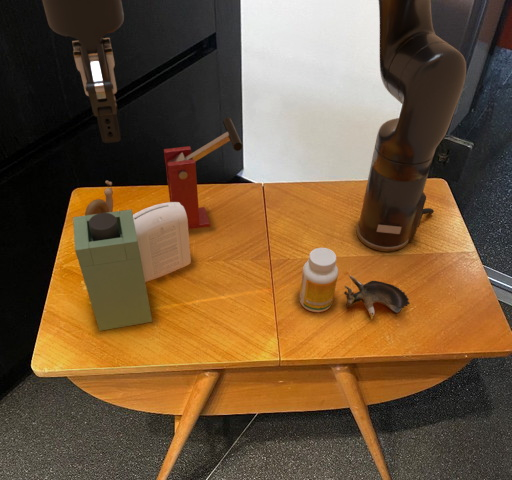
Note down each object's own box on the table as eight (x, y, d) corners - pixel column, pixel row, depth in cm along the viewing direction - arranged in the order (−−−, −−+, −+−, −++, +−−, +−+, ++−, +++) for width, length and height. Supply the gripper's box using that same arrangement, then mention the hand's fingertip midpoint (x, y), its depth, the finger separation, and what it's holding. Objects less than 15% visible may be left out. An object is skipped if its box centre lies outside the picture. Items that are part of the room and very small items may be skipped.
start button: (119, 229, 76) (115, 211, 74) (121, 246, 74) (117, 227, 71) (92, 233, 75) (87, 214, 73) (94, 250, 73) (89, 231, 71)
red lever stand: (204, 210, 102) (200, 143, 91) (210, 231, 98) (207, 162, 88) (161, 216, 101) (152, 148, 90) (166, 237, 97) (157, 168, 86)
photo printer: (183, 251, 95) (176, 190, 85) (195, 265, 92) (190, 205, 83) (128, 273, 91) (115, 212, 81) (140, 288, 88) (127, 227, 79)
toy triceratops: (351, 328, 82) (411, 319, 82) (346, 282, 80) (407, 272, 80) (345, 315, 90) (400, 306, 89) (340, 273, 88) (396, 263, 87)
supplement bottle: (293, 295, 88) (297, 249, 81) (321, 285, 90) (329, 240, 83) (309, 317, 85) (316, 272, 78) (338, 307, 87) (348, 262, 79)
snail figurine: (133, 244, 95) (122, 186, 86) (108, 265, 92) (94, 206, 83) (110, 233, 97) (96, 174, 88) (84, 253, 94) (67, 194, 84)
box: (146, 290, 88) (131, 209, 76) (152, 322, 84) (137, 241, 72) (96, 298, 87) (72, 217, 75) (99, 331, 83) (74, 250, 70)
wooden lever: (234, 124, 91) (227, 113, 90) (245, 150, 86) (238, 138, 85) (173, 161, 94) (165, 151, 92) (180, 188, 89) (172, 178, 87)
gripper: (123, -7, 48) (150, 165, 62) (110, -53, 56) (136, 108, 70) (35, -1, 47) (82, 174, 61) (35, -48, 55) (76, 115, 69)
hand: (111, 138), depth 65 cm, fingers closed
